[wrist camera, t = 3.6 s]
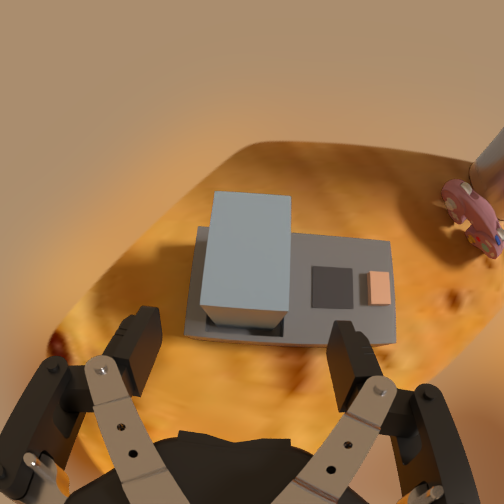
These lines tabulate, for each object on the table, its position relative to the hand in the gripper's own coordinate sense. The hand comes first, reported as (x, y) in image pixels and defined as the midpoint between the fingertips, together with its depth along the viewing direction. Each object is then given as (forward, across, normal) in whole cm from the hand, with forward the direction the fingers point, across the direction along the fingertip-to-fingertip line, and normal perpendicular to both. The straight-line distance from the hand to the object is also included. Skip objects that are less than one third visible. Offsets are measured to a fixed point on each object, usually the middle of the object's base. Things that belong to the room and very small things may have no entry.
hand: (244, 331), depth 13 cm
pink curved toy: (+16, -24, -2) cm, 28 cm away
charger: (+9, 0, +3) cm, 9 cm away
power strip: (+10, -3, +4) cm, 11 cm away
